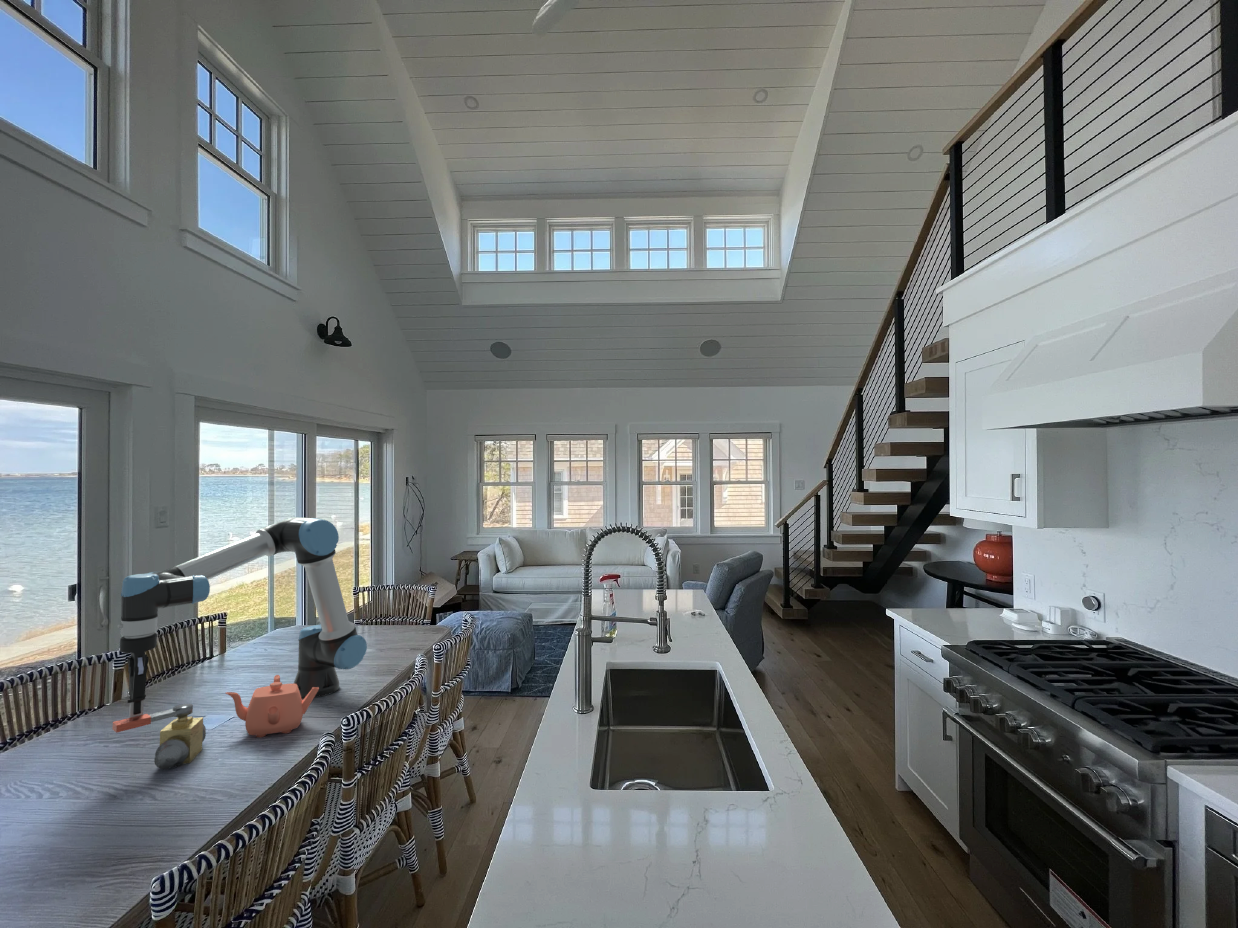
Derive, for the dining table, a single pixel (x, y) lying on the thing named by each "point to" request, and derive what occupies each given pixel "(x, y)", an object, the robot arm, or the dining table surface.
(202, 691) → the dining table surface
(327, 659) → the robot arm
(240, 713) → the teapot
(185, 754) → the valve body
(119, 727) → the lever
